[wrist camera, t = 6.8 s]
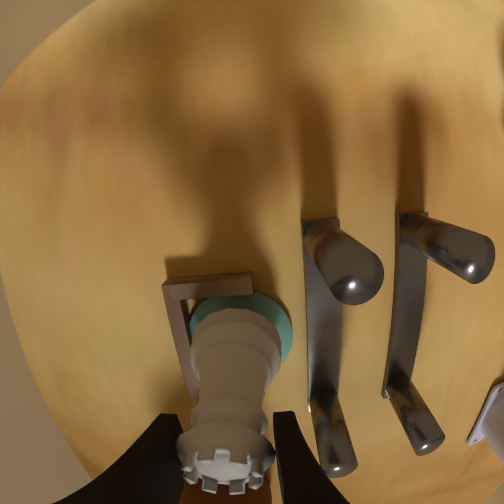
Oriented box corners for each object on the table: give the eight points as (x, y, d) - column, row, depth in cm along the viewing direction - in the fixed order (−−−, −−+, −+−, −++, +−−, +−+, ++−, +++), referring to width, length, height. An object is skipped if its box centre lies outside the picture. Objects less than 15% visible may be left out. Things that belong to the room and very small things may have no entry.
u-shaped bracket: (287, 268, 15) (289, 274, 14) (294, 382, 17) (296, 392, 16) (167, 279, 15) (161, 285, 14) (192, 387, 17) (189, 397, 16)
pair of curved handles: (423, 211, 14) (497, 233, 8) (404, 388, 17) (439, 449, 11) (300, 220, 14) (327, 251, 8) (307, 406, 17) (320, 480, 11)
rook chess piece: (204, 378, 15) (176, 502, 8) (184, 308, 14) (126, 433, 7) (285, 371, 15) (299, 501, 8) (276, 297, 14) (293, 431, 6)
